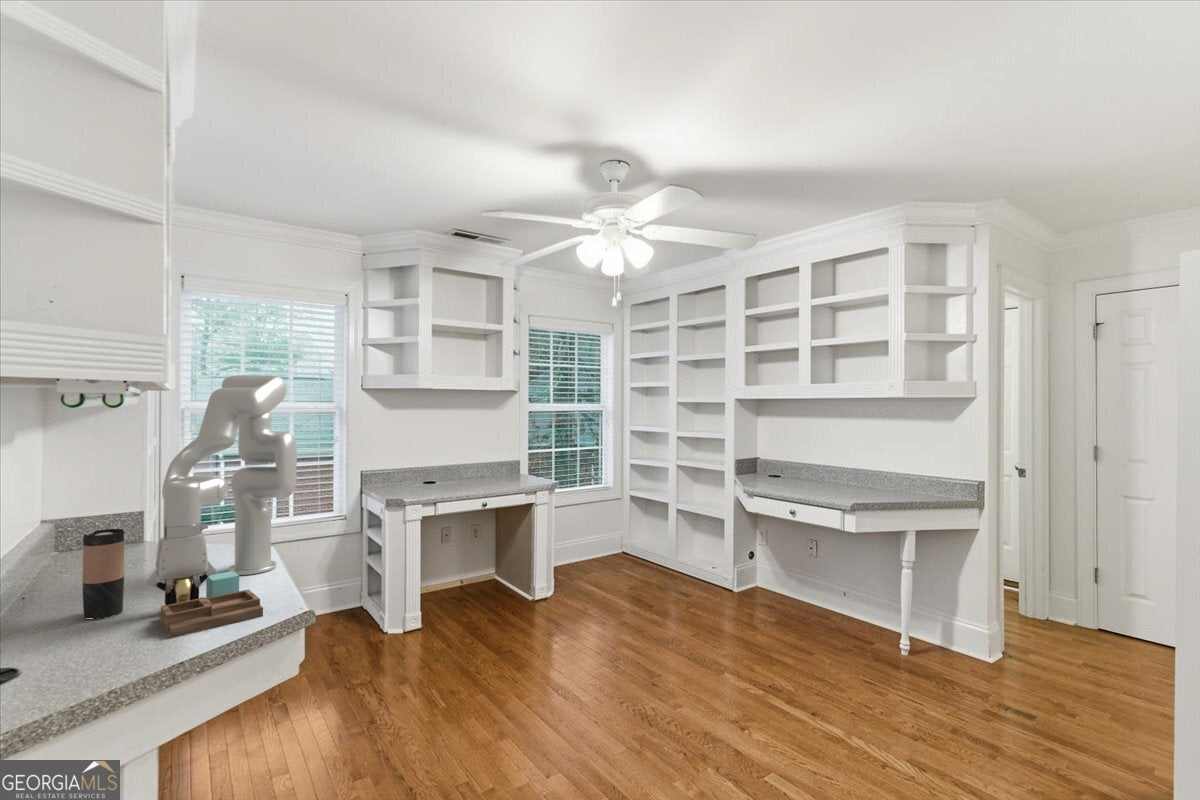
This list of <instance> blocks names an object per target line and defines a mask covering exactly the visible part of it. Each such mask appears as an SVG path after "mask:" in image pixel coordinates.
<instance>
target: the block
mask: <svg viewBox="0 0 1200 800" xmlns="http://www.w3.org/2000/svg"><path fill="white" fill-rule="evenodd" d="M205 583H206V586H205V591H206V592H205V594H206V596H205V598H206V597H207V598H209V597H214V596H219V595H224V594H229V593H234V592H238V591H240V575H238V574H236V573H235V572H234V571H229V570H228V571H225V572H218V573H213V574H212V575H210V576H209V577H207V579H206V580H205Z"/></svg>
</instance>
